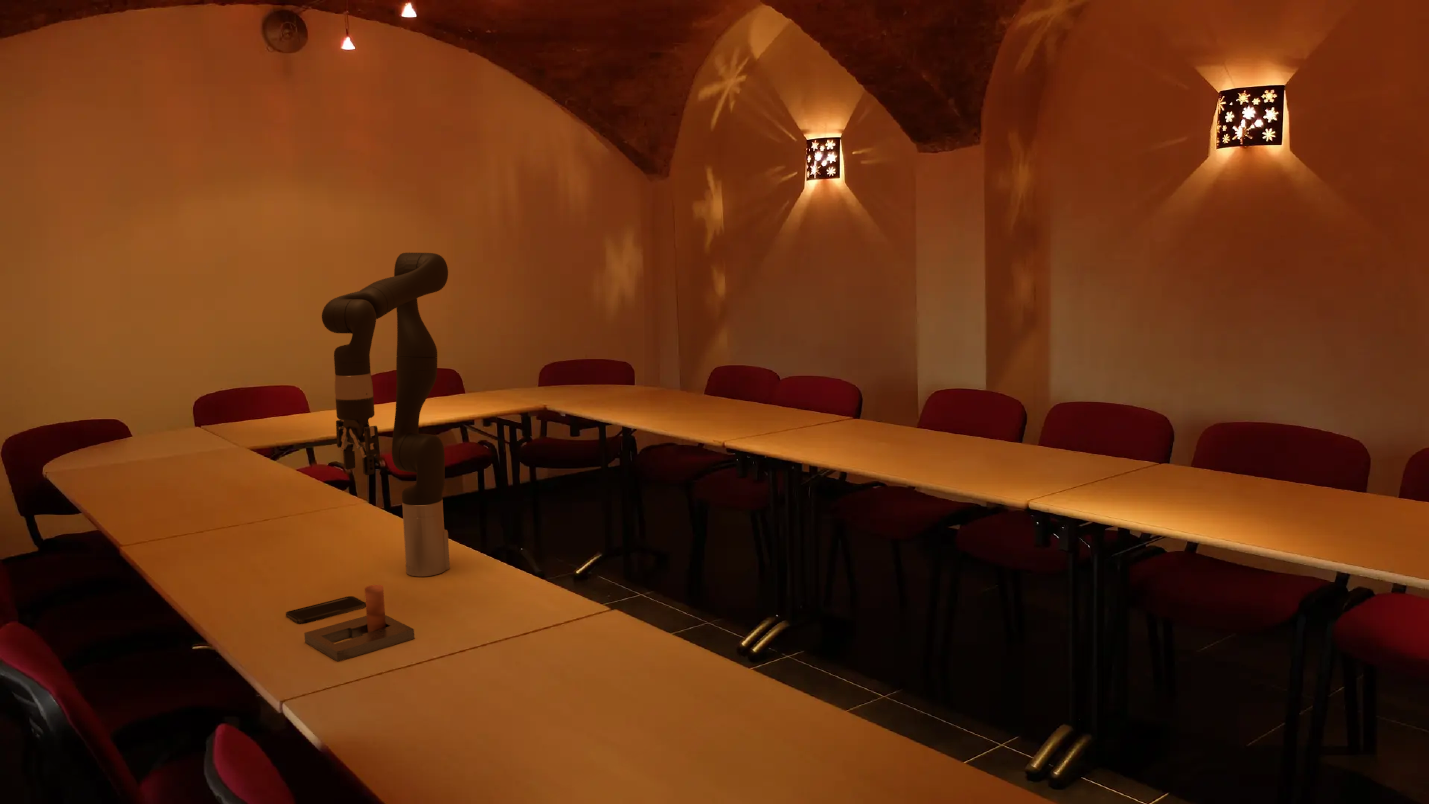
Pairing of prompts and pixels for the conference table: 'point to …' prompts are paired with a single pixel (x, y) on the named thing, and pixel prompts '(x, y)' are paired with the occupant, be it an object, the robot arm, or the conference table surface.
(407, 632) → the keyhole plate
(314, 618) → the phone
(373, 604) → the peg
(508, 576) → the conference table surface
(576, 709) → the conference table surface
